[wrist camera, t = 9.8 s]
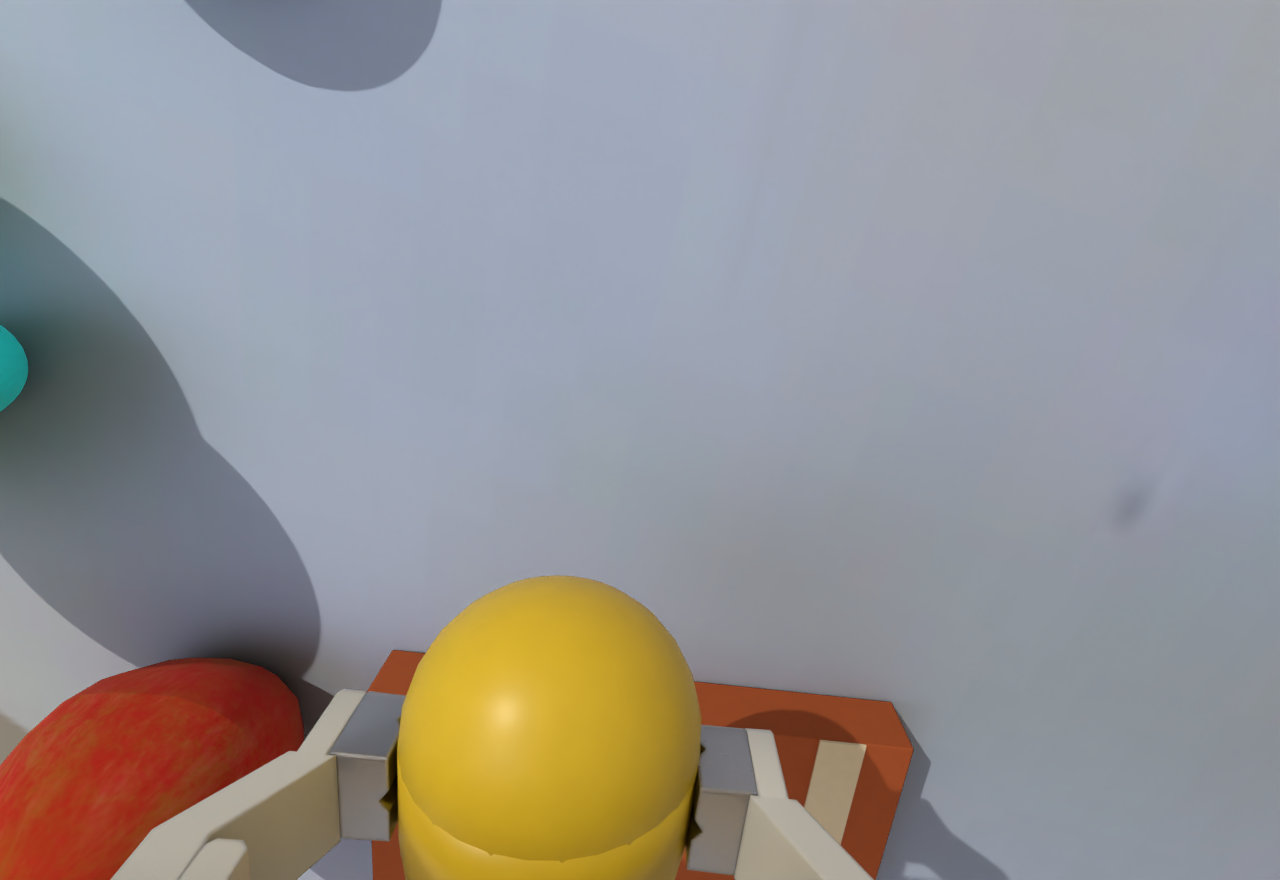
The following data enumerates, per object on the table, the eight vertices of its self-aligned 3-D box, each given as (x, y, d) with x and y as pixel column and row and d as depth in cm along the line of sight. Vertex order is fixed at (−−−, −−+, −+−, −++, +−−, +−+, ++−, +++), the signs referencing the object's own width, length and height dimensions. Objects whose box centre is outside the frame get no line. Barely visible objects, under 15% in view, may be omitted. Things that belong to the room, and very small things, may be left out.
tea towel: (891, 701, 25) (916, 751, 23) (839, 892, 28) (855, 954, 26) (392, 649, 25) (364, 694, 23) (396, 847, 28) (371, 904, 26)
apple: (280, 580, 24) (7, 841, 14) (381, 752, 27) (208, 1081, 17) (92, 640, 25) (-287, 922, 15) (205, 800, 28) (-58, 1137, 18)
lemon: (452, 514, 13) (331, 686, 8) (709, 541, 13) (739, 729, 8) (448, 798, 16) (351, 1064, 11) (667, 822, 16) (671, 1097, 11)
